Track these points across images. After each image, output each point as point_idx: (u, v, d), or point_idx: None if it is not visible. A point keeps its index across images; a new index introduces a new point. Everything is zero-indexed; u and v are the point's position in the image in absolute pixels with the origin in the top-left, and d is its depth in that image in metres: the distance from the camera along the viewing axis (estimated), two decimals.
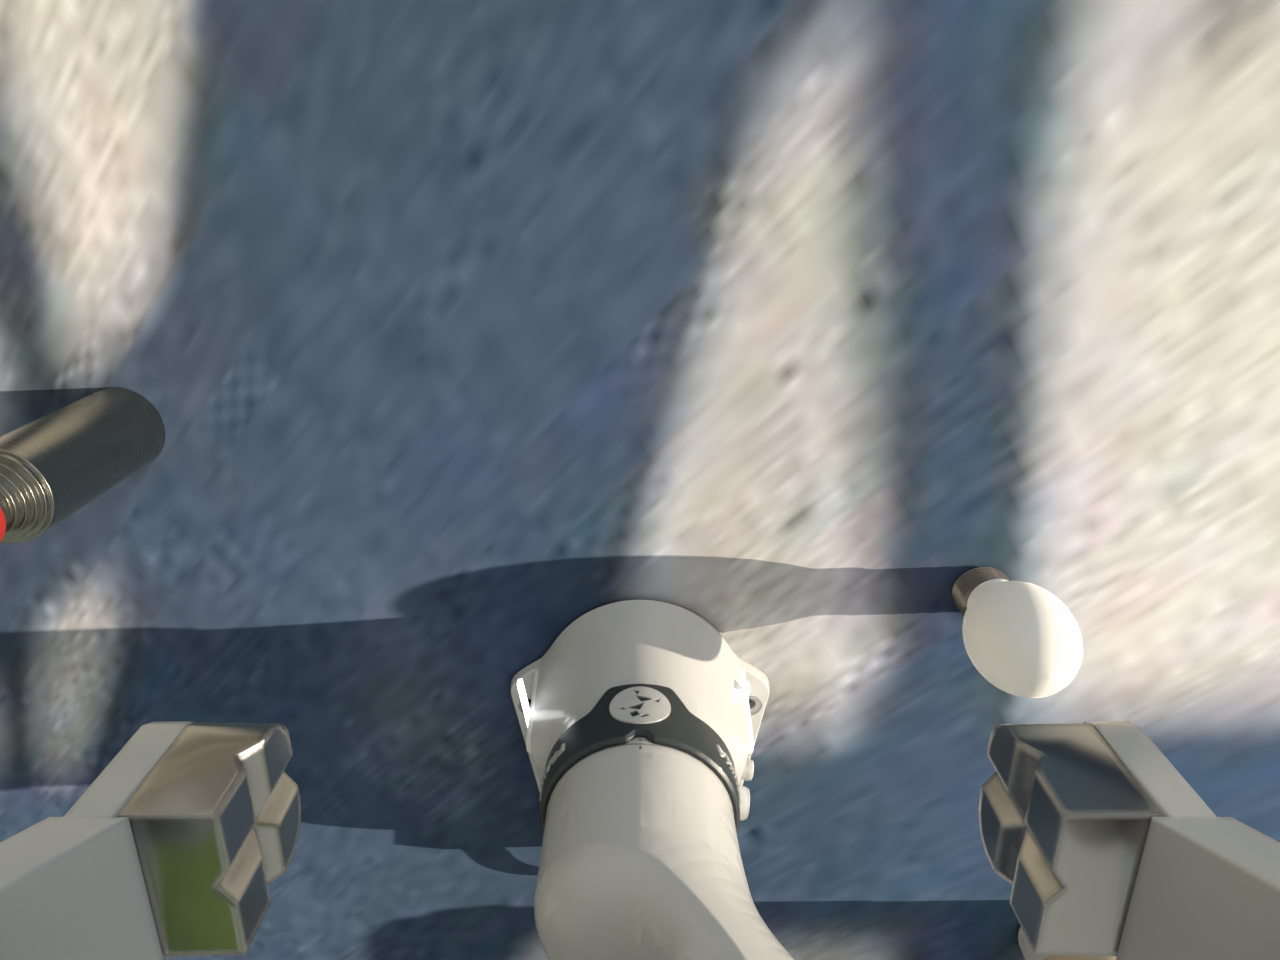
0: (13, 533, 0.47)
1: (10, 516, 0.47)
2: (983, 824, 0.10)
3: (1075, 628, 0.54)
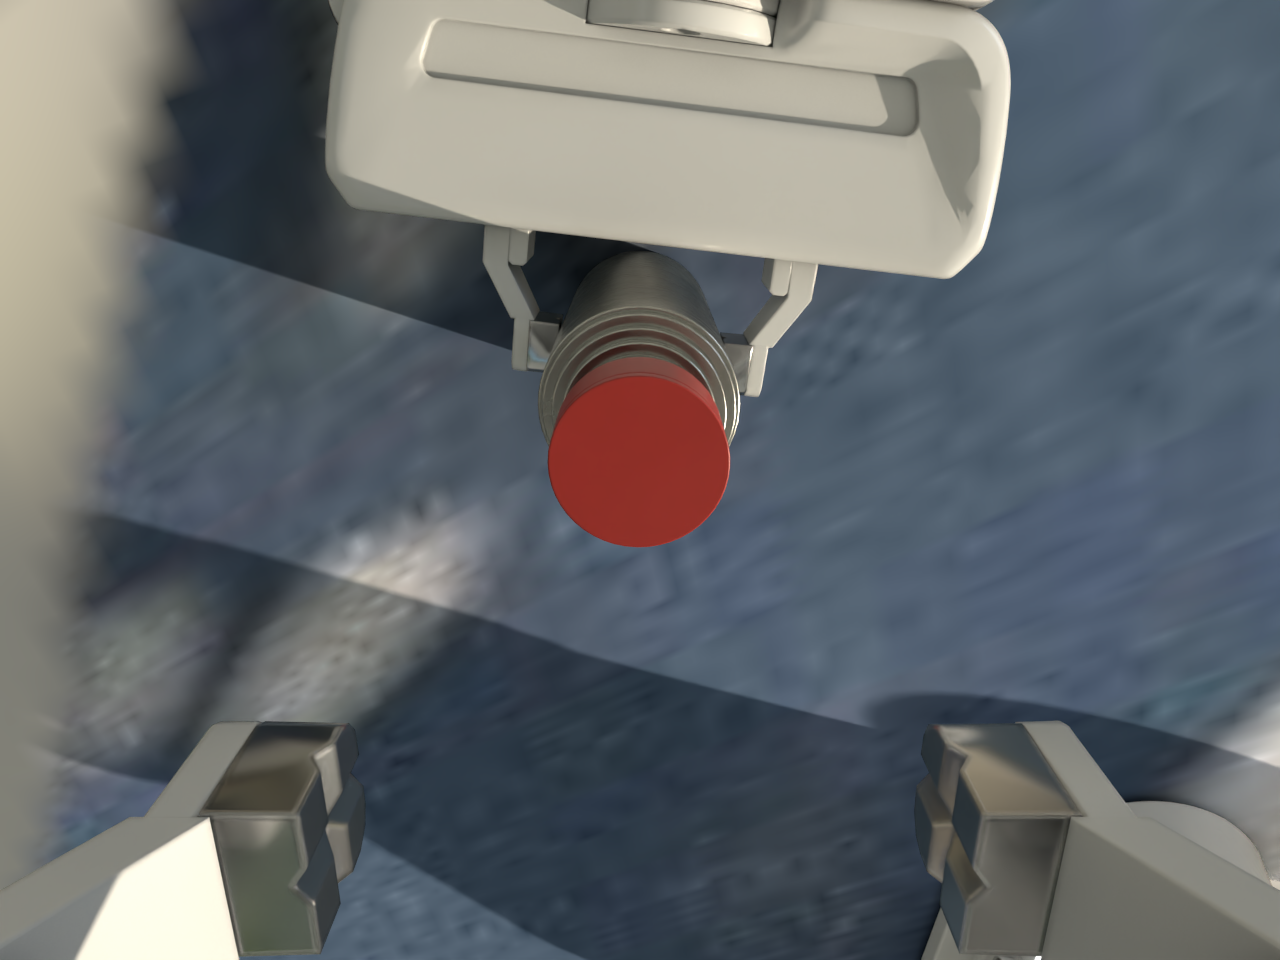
0: None
1: None
2: (918, 824, 0.10)
3: None
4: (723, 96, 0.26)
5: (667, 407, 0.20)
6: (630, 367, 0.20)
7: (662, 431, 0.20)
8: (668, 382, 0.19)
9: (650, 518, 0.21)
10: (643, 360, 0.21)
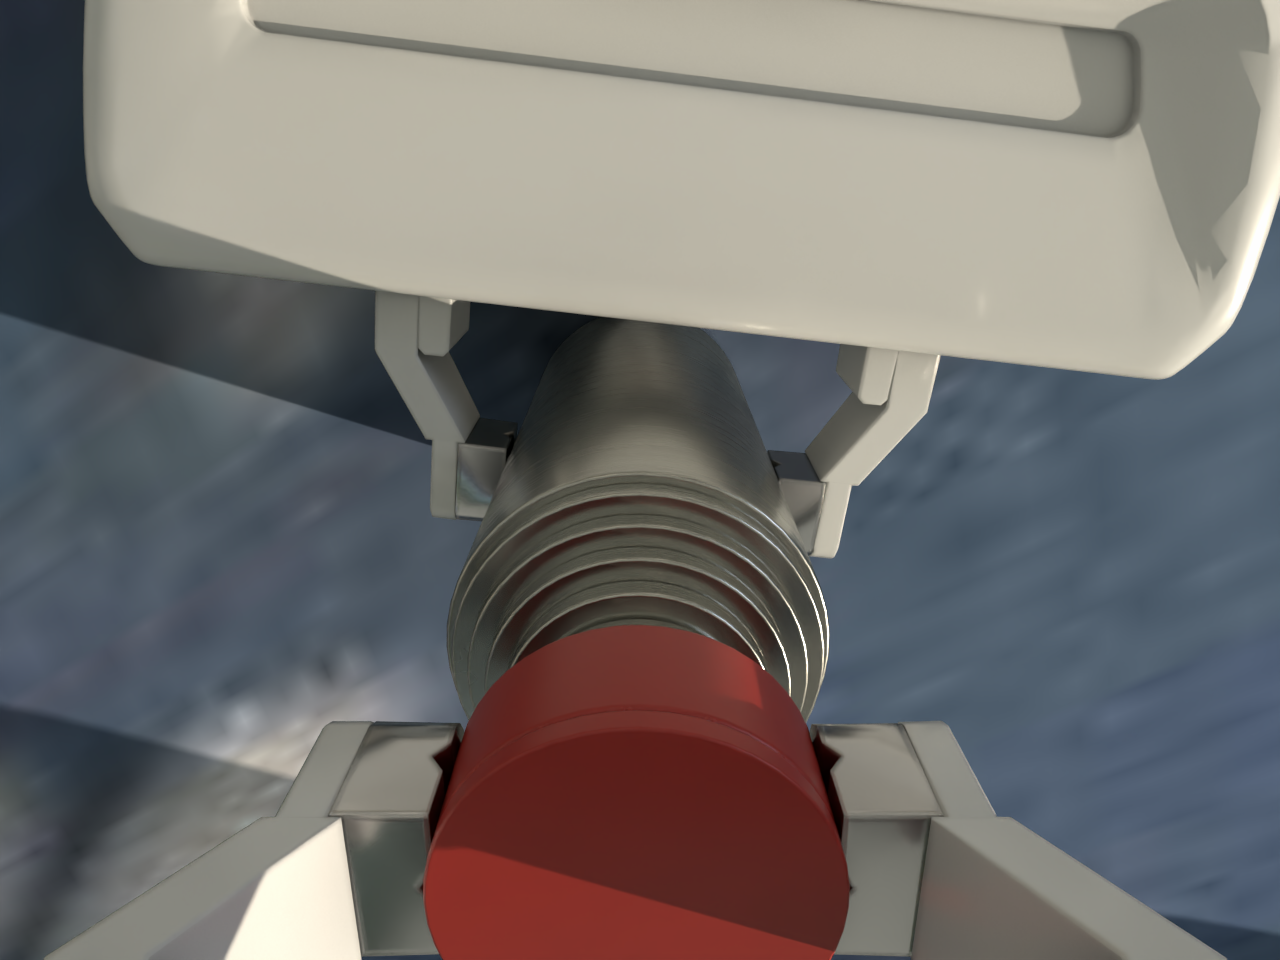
0: None
1: None
2: None
3: None
4: (790, 66, 0.15)
5: (705, 794, 0.08)
6: (616, 679, 0.09)
7: (692, 842, 0.08)
8: (708, 742, 0.08)
9: None
10: (647, 639, 0.09)
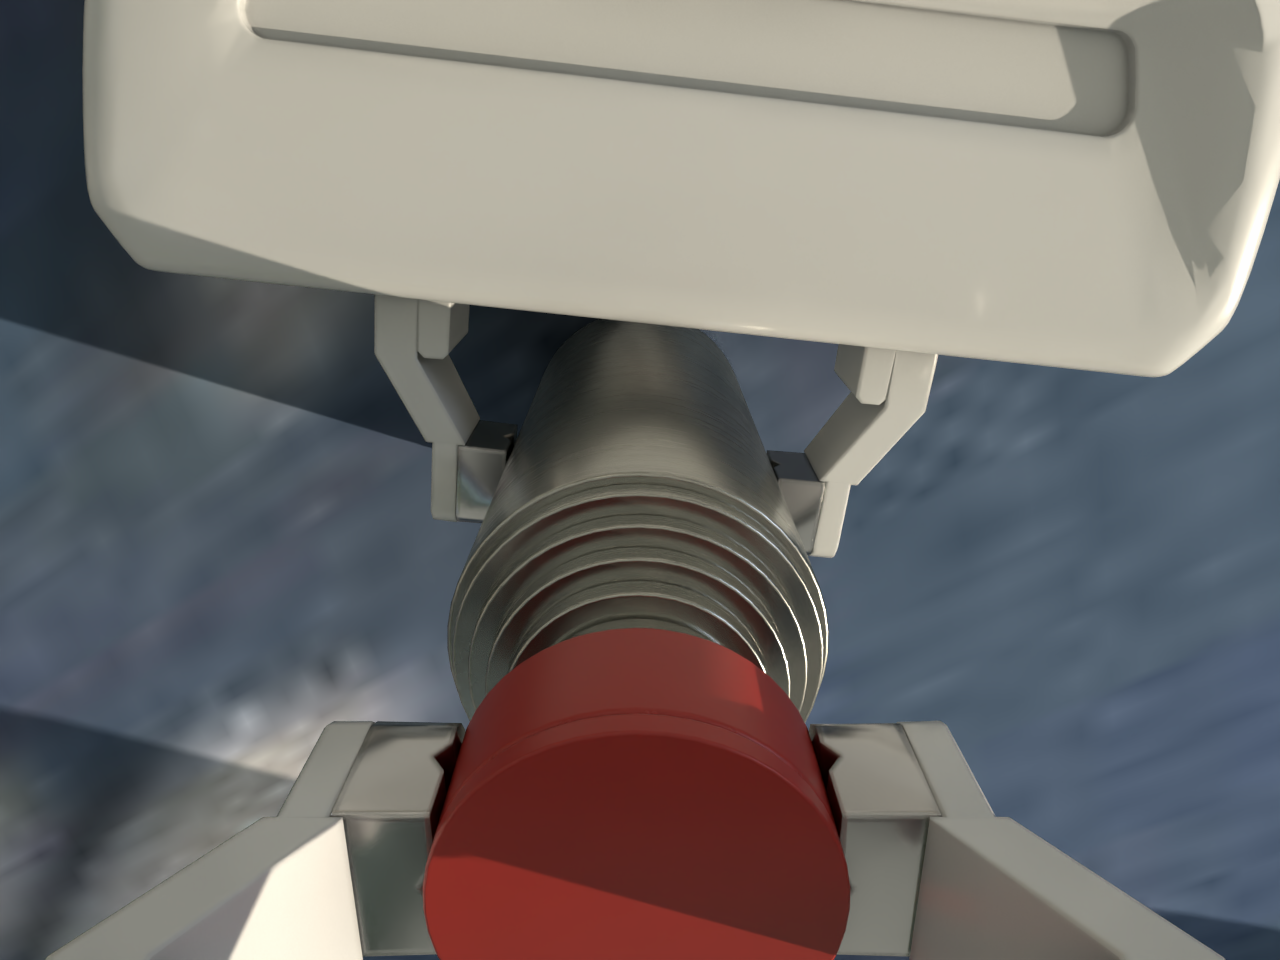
0: None
1: None
2: None
3: None
4: (785, 68, 0.15)
5: (499, 848, 0.08)
6: None
7: (558, 862, 0.08)
8: (439, 840, 0.08)
9: (776, 902, 0.09)
10: None
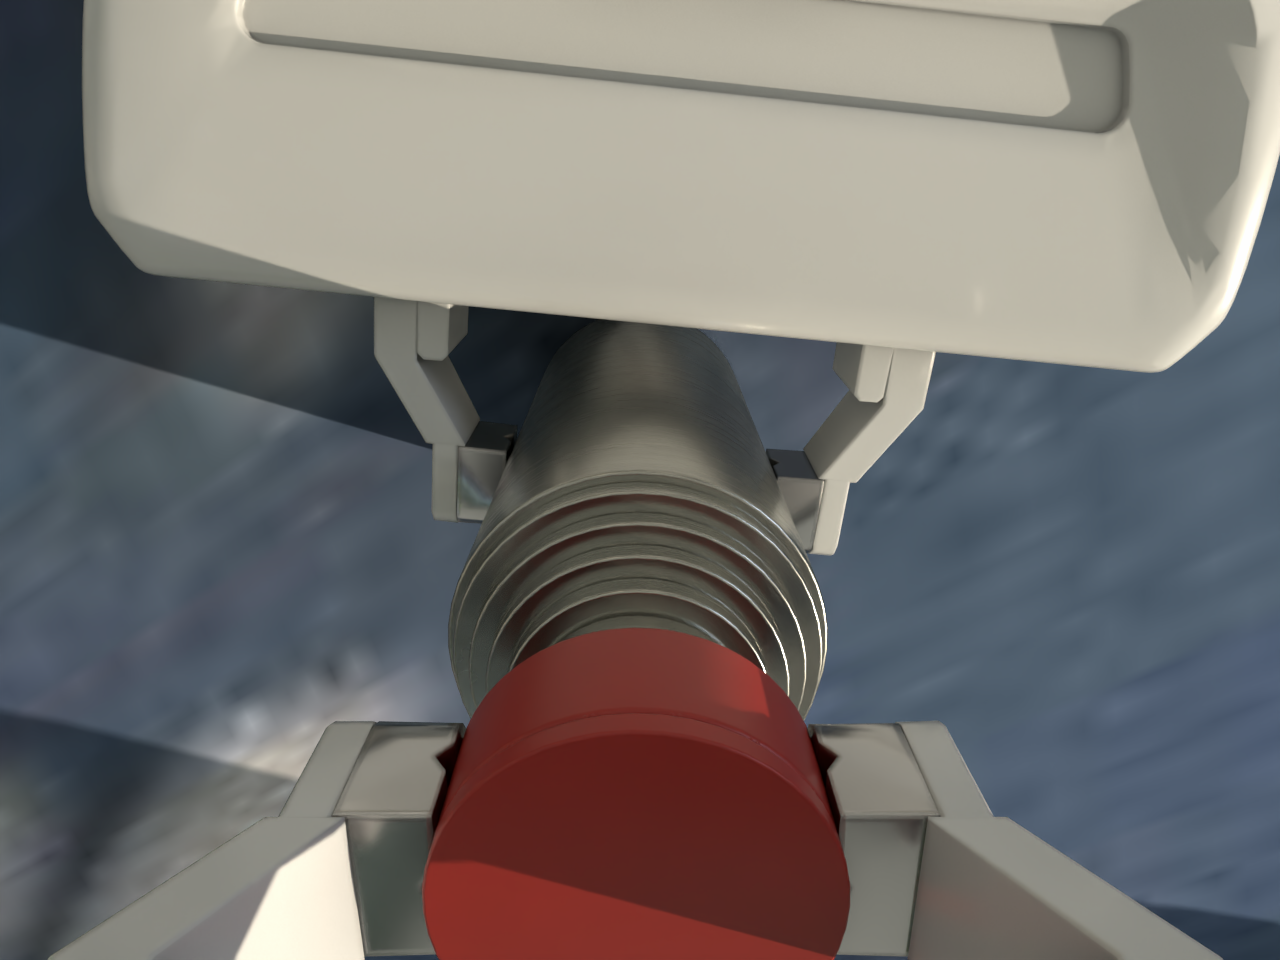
0: None
1: None
2: None
3: None
4: (780, 68, 0.15)
5: None
6: None
7: None
8: None
9: (639, 798, 0.08)
10: None
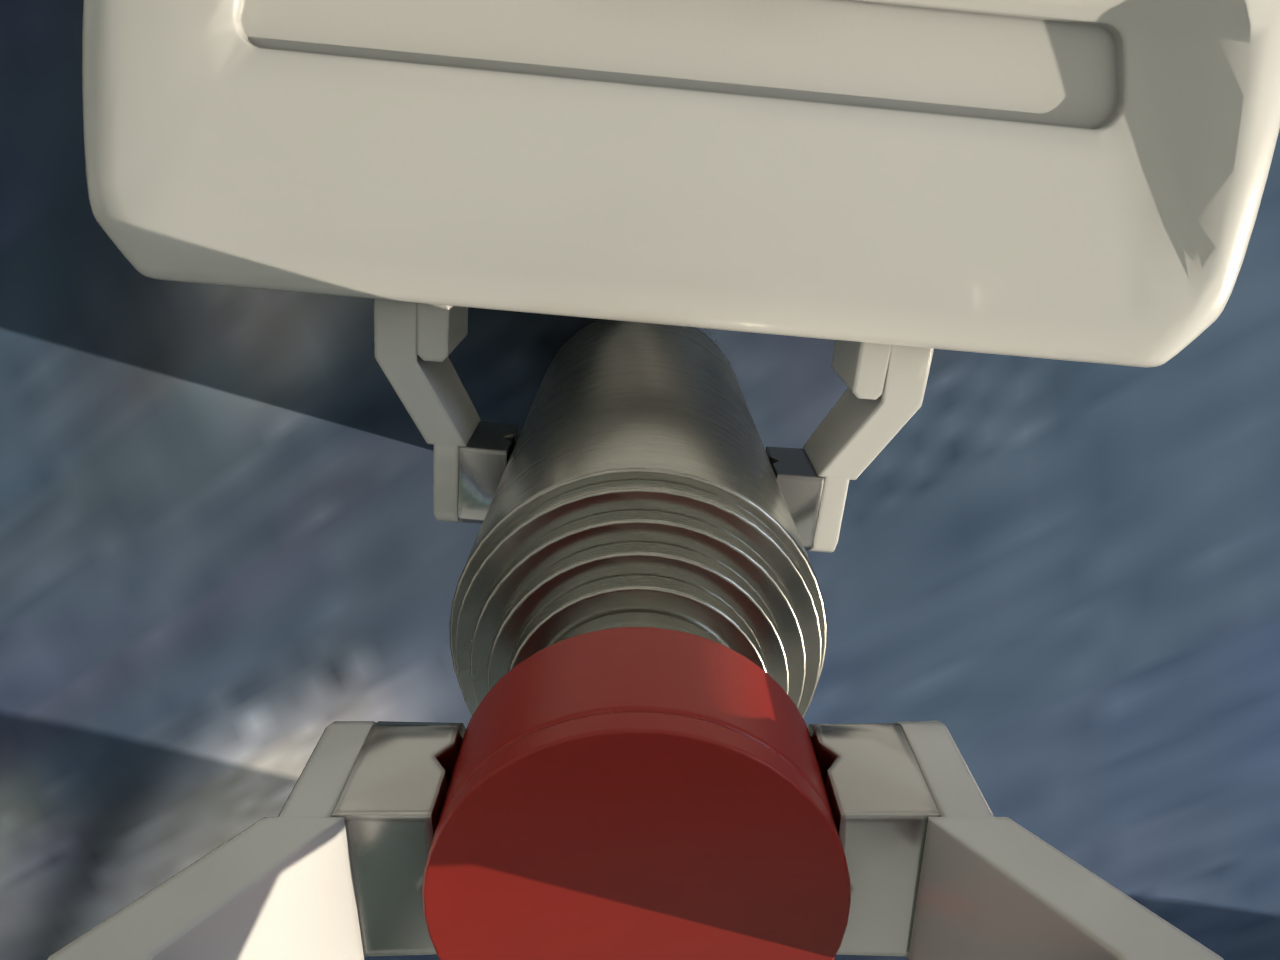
0: None
1: None
2: None
3: None
4: (776, 67, 0.15)
5: None
6: None
7: None
8: None
9: (497, 896, 0.09)
10: None
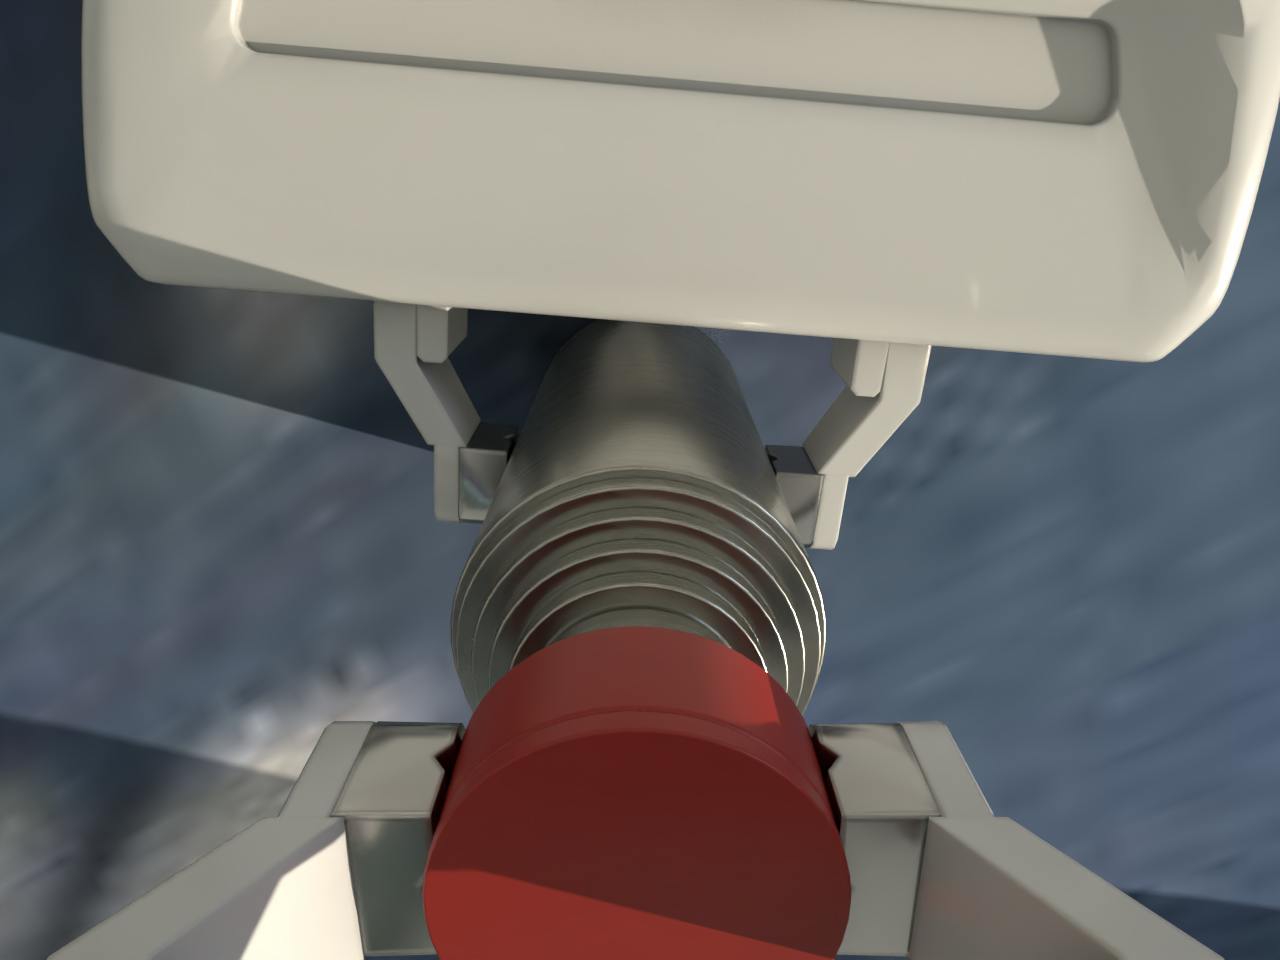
0: None
1: None
2: None
3: None
4: (771, 66, 0.15)
5: (761, 832, 0.08)
6: (711, 691, 0.09)
7: (723, 870, 0.08)
8: (792, 787, 0.08)
9: None
10: (730, 662, 0.09)
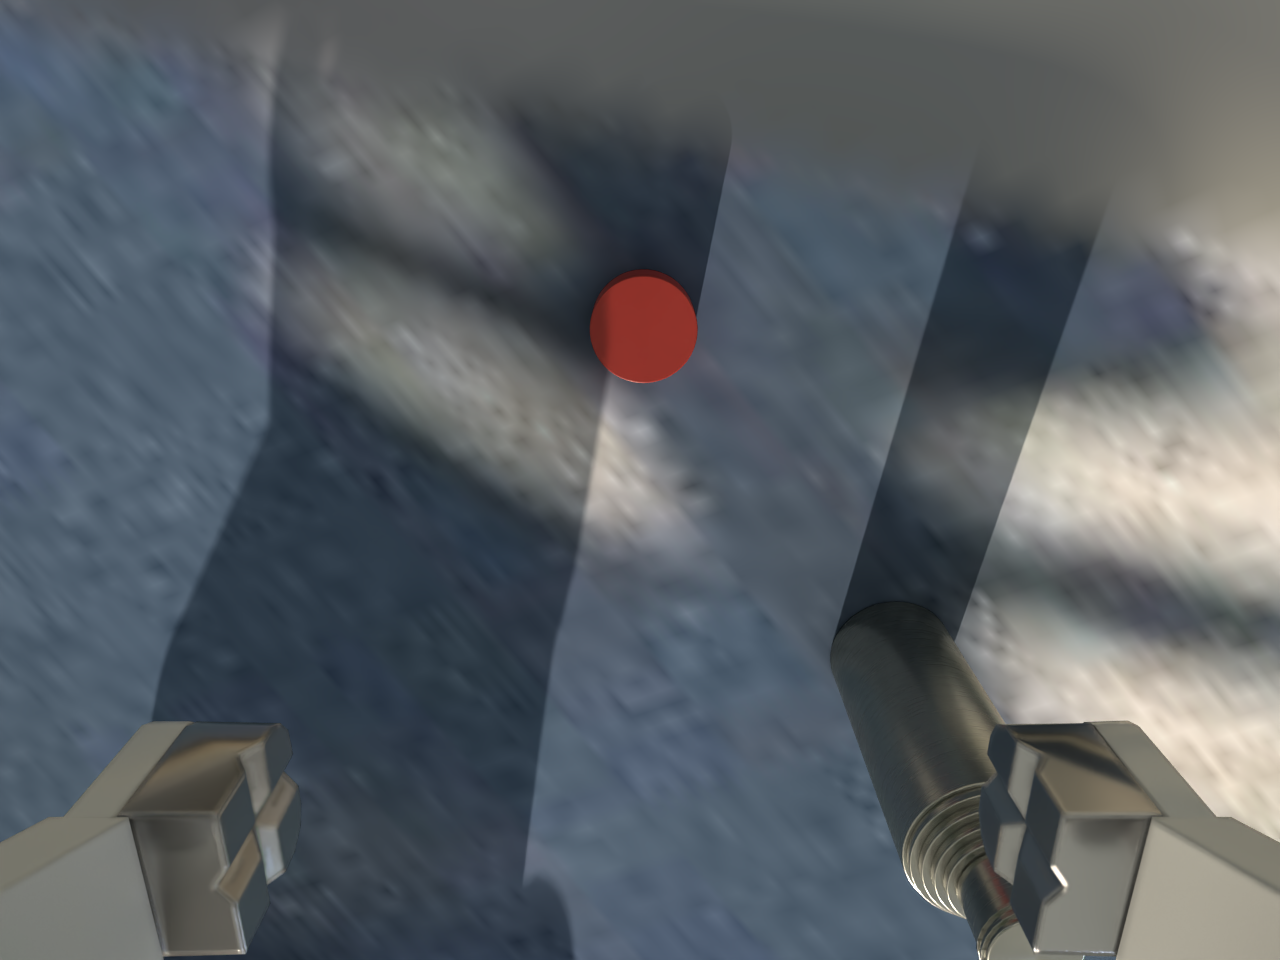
0: (937, 889, 0.29)
1: None
2: (983, 824, 0.10)
3: None
4: None
5: (622, 297, 0.34)
6: (596, 301, 0.34)
7: (633, 307, 0.34)
8: (610, 288, 0.34)
9: (675, 343, 0.34)
10: (602, 292, 0.35)
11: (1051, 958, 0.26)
